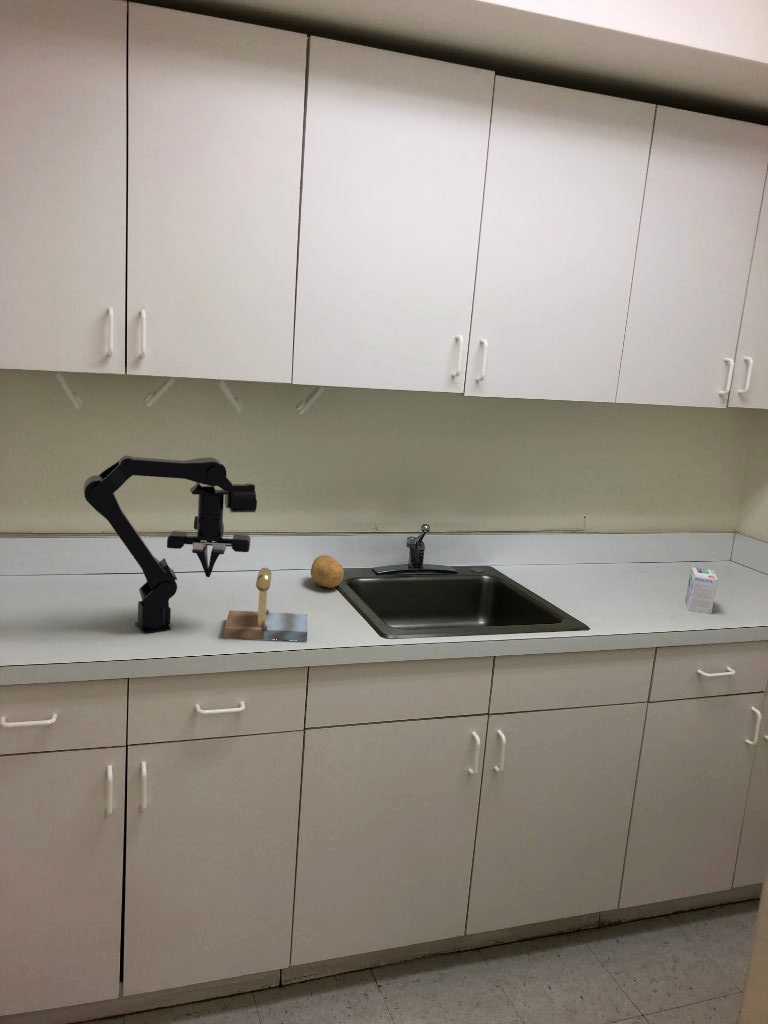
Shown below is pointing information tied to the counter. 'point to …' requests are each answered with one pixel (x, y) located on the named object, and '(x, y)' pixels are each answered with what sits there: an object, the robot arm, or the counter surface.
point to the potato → (327, 571)
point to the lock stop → (263, 593)
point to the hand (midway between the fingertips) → (208, 576)
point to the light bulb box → (701, 590)
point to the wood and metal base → (266, 626)
